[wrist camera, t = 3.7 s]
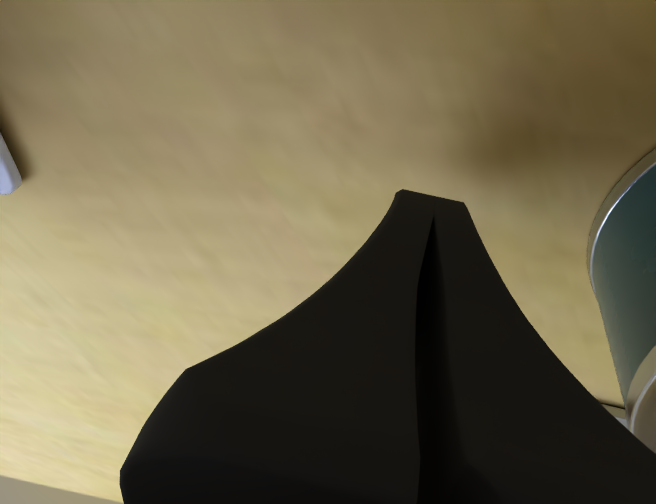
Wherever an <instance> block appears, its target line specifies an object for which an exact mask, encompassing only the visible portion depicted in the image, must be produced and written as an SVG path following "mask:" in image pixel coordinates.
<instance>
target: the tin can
mask: <svg viewBox="0 0 656 504" xmlns="http://www.w3.org/2000/svg"><path fill="white" fill-rule="evenodd" d="M587 268H588V273H589V278H590V282H591V286H592V289H593V292H594V294H595V297H596V299H597V301H598V304H599V308H600V312H601V316H602V320H603V323H604V327H605V331H606V335H607V339H608V343H609V347H610V351H611V355H612V358H613V362H614V366H615V370H616V374H617V378H618V382H619V386H620V389H621V393H622V397H623V401H624V405H625V409H626V414H625V417H626V422H627V427H628V430H629V431H630V432H631V433H632V434H633V435H635V436H636V437H637V438H638V439H639V440H640V441H641V442H642V443H644V444H645V445H646V446H647V447H648V448H649V449H651V450H652V451H653V452H654V453H656V149H654V150H653V151H651V152H650V153H649V154H647V155H646V156H645V157H644V158H643V159H641V160H640V161H639V162H638V163H637V164H636V165H635V166H634V167H632V168H631V169H630V170H629V171H628V172H627V173H626V174H625V176H624V177H623V178H622V179H621V180H620V181H619V182H618V183H617V184H616V185H615V187H614V188H613V190H612V191H611V192H610V194H609V195H608V197H607V198H606V199H605V201H604V202H603V204H602V206H601V208H600V210H599V212H598V214H597V216H596V218H595V220H594V223H593V226H592V229H591V232H590V234H589V240H588V246H587Z"/></svg>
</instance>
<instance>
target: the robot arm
mask: <svg viewBox="0 0 656 504" xmlns="http://www.w3.org/2000/svg"><path fill="white" fill-rule="evenodd" d="M21 181H22V179H21V176H20V173H19V171H18V169H17V167H16V165H15V162H14V160H13V158H12V156H11V154H10V152H9V150H8V148H7V146H6V143H5V141H4V139H3V137H2V135H1V133H0V195H7V194H11V193H12V192H13V191H15V190H16V189H17V188H18V187H19V186H20V185H21ZM120 488H121V493H122V497H123V502H124V504H656V453H654V452H653V451H652V450H651V449H649V448H648V447H647V446H646V445H645V444H644V443H642V442H641V441H640V440H639V439H638V438H637V437H636V436H635V435H633V434H632V433H631V432H630V431H629V430H628V429H627V428H626V427H625V426H624V425H623V424H622V423H620V422H619V421H618V420H617V419H616V418H615V417H614V416H613V415H612V414H611V413H610V412H609V411H608V410H607V409H605V408H604V407H603V406H602V405H601V404H600V403H599V402H598V401H597V400H596V399H595V398H594V397H593V396H592V395H591V394H590V393H589V392H588V391H587V390H586V388H585V387H584V386H583V385H582V384H581V383H580V382H579V381H578V380H577V379H576V378H575V377H574V375H573V374H572V373H571V372H570V371H569V370H568V369H567V368H566V367H565V366H564V365H563V363H562V362H561V361H560V360H559V359H558V358H557V356H556V355H555V354H554V353H553V352H552V351H551V349H550V348H549V347H548V346H547V344H546V343H545V342H544V341H543V339H542V338H541V337H540V335H539V334H538V333H537V331H536V330H535V329H534V328H533V326H532V325H531V324H530V322H529V321H528V320H527V318H526V317H525V315H524V314H523V313H522V311H521V310H520V308H519V306H518V305H517V303H516V302H515V300H514V299H513V297H512V295H511V294H510V292H509V291H508V289H507V287H506V285H505V284H504V282H503V280H502V279H501V277H500V275H499V273H498V271H497V269H496V268H495V266H494V264H493V262H492V260H491V258H490V257H489V255H488V253H487V251H486V249H485V247H484V244H483V242H482V240H481V238H480V236H479V234H478V232H477V229H476V227H475V225H474V223H473V220H472V218H471V216H470V213H469V211H468V209H467V207H466V205H465V204H464V202H459V201H455V200H450V199H445V198H441V197H436V196H432V195H427V194H422V193H418V192H413V191H409V190H404V189H402V190H400V191H398V192H396V194H395V197H394V200H393V202H392V204H391V206H390V208H389V210H388V212H387V213H386V215H385V216H384V218H383V219H382V221H381V223H380V224H379V225H378V227H377V228H376V229H375V231H374V232H373V233H372V234H371V236H370V237H369V238H368V240H367V241H366V242H365V243H364V245H363V246H362V247H361V248H360V249H359V250H358V251H357V252H356V253H355V255H354V256H353V257H352V258H351V259H350V260H349V261H348V262H347V263H346V264H345V265H344V266H343V267H342V268H341V269H340V270H339V271H338V272H337V273H336V274H335V275H334V276H333V277H332V278H331V279H330V280H329V281H328V282H326V283H325V284H324V285H323V286H322V287H321V288H320V289H318V290H317V291H316V292H315V293H314V294H312V295H311V296H310V297H308V298H307V299H306V300H305V301H303V302H302V303H301V304H299V305H298V306H297V307H295V308H294V309H293V310H291V311H290V312H289V313H287V314H286V315H284V316H283V317H281V318H280V319H278V320H277V321H275V322H274V323H272V324H270V325H269V326H267V327H265V328H264V329H262V330H260V331H259V332H257V333H256V334H254V335H252V336H251V337H249V338H247V339H246V340H244V341H242V342H240V343H239V344H237V345H235V346H233V347H231V348H229V349H227V350H225V351H223V352H221V353H219V354H217V355H215V356H213V357H211V358H208V359H206V360H204V361H202V362H200V363H198V364H196V365H194V366H192V367H190V368H187V369H185V371H184V372H183V373H182V374H181V375H180V376H179V378H178V379H177V380H176V381H175V382H174V384H173V385H172V386H171V387H170V389H169V390H168V391H167V392H166V394H165V395H164V396H163V398H162V399H161V401H160V402H159V403H158V405H157V406H156V408H155V409H154V411H153V412H152V413H151V415H150V416H149V418H148V419H147V421H146V422H145V424H144V426H143V427H142V429H141V431H140V433H139V435H138V437H137V439H136V441H135V443H134V445H133V447H132V448H131V450H130V452H129V454H128V456H127V458H126V460H125V462H124V464H123V466H122V468H121V470H120Z"/></svg>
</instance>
